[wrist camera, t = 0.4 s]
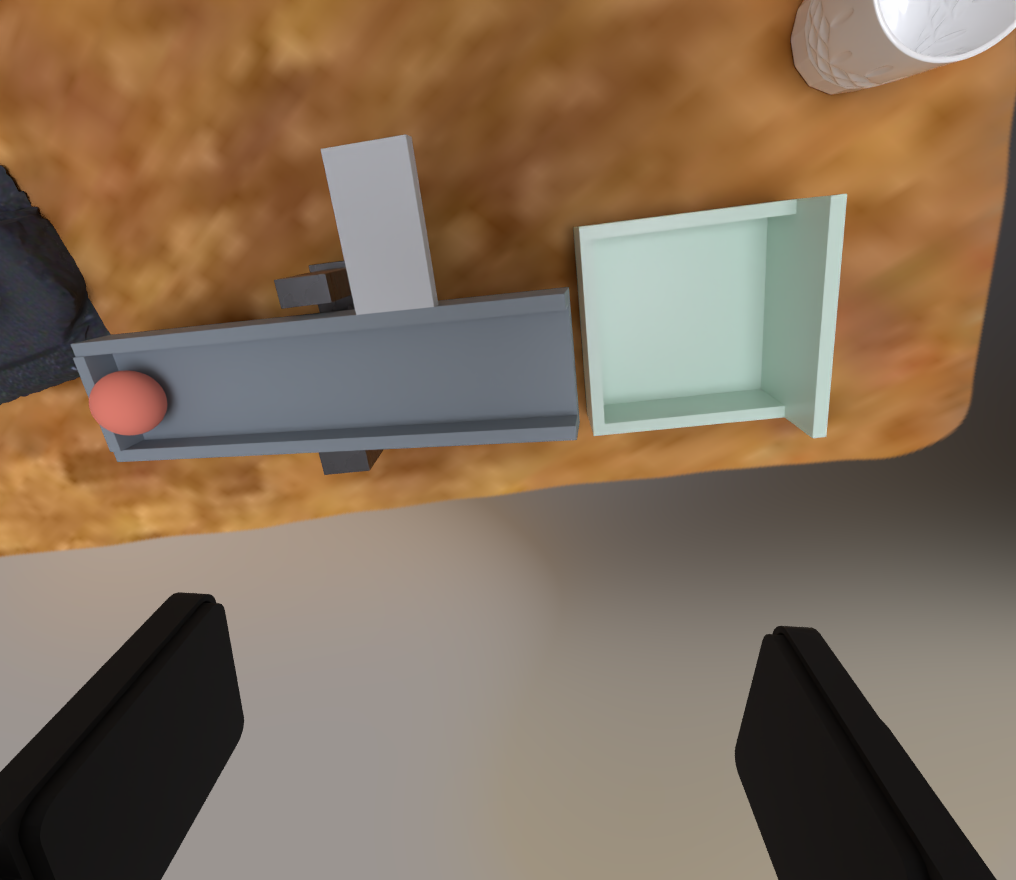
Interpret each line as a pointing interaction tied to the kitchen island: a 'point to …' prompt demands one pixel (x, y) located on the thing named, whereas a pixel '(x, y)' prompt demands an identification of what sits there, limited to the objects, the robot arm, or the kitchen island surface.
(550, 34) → the kitchen island surface
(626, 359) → the bin
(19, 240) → the folded navy shirt
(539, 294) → the lever
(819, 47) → the white cup
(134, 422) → the ball
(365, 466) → the lever stand
